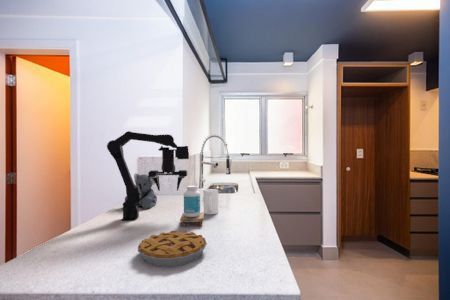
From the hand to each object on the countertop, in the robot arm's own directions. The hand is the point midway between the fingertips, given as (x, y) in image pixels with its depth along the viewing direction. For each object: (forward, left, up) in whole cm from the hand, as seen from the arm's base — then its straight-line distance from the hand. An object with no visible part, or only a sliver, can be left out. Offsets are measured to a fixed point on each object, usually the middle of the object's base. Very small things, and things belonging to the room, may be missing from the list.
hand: (168, 190), depth 131 cm
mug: (+21, +4, -13) cm, 25 cm away
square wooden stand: (+13, -13, -13) cm, 23 cm away
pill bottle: (+13, -13, -10) cm, 21 cm away
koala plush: (-19, +26, -13) cm, 35 cm away
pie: (+9, -46, -14) cm, 49 cm away
